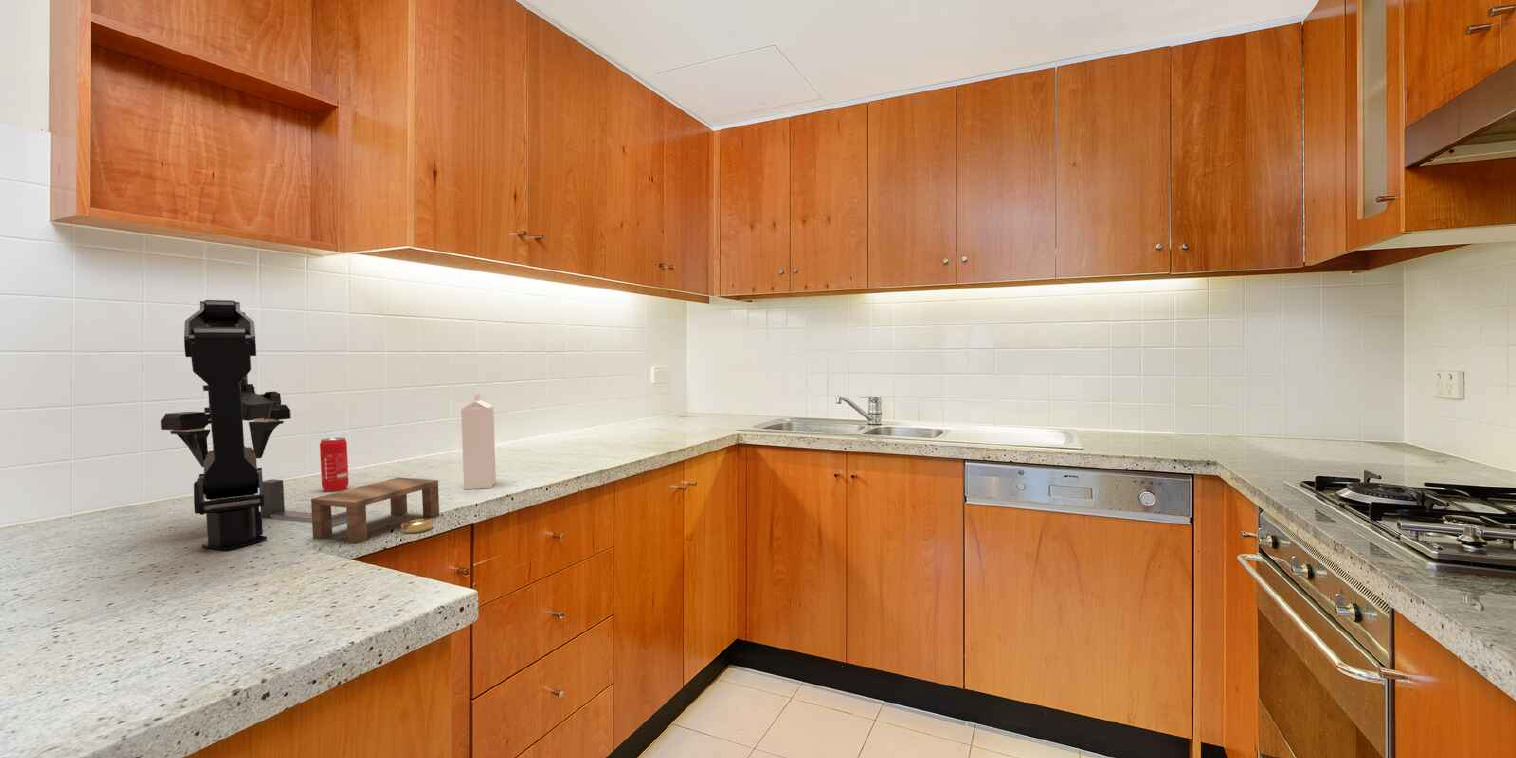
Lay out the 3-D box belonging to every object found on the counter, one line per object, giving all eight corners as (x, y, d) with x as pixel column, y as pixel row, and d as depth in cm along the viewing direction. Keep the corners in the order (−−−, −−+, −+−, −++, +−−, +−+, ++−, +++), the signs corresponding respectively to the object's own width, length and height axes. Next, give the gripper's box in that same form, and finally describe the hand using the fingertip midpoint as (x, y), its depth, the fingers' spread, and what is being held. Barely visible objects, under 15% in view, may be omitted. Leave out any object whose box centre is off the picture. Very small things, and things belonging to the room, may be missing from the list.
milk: (496, 482, 154) (493, 392, 152) (491, 488, 148) (488, 394, 147) (469, 484, 152) (466, 393, 151) (463, 489, 146) (460, 395, 145)
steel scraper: (330, 527, 117) (328, 489, 116) (251, 519, 123) (249, 483, 122) (359, 518, 123) (358, 483, 122) (283, 511, 129) (281, 477, 128)
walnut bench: (356, 543, 107) (354, 502, 107) (312, 538, 110) (310, 498, 110) (439, 515, 124) (437, 480, 124) (399, 511, 127) (398, 477, 127)
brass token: (429, 531, 113) (428, 522, 113) (398, 535, 111) (397, 526, 111) (435, 525, 118) (435, 517, 118) (406, 528, 116) (405, 520, 116)
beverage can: (327, 493, 144) (324, 441, 144) (318, 490, 148) (316, 439, 147) (352, 488, 149) (350, 438, 148) (343, 486, 152) (341, 436, 151)
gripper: (200, 382, 106) (206, 474, 107) (309, 376, 123) (313, 455, 124) (156, 382, 109) (161, 471, 110) (268, 376, 127) (272, 453, 128)
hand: (232, 462), depth 118 cm, fingers open, 9 cm apart
